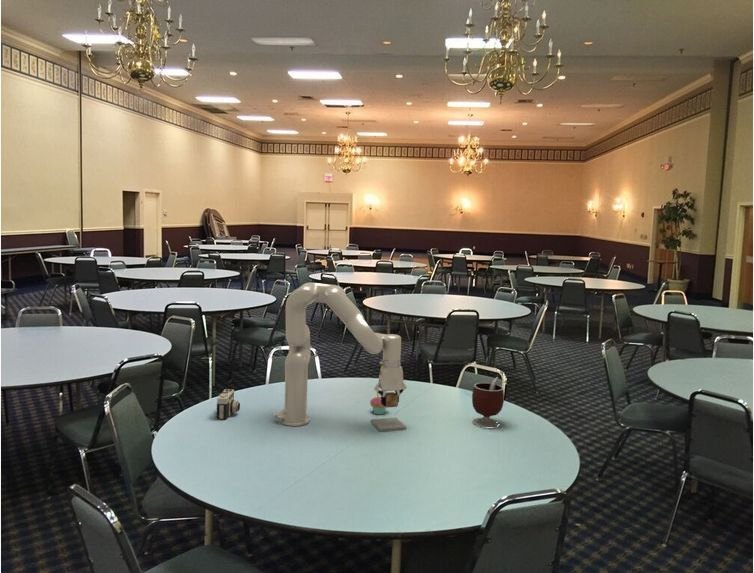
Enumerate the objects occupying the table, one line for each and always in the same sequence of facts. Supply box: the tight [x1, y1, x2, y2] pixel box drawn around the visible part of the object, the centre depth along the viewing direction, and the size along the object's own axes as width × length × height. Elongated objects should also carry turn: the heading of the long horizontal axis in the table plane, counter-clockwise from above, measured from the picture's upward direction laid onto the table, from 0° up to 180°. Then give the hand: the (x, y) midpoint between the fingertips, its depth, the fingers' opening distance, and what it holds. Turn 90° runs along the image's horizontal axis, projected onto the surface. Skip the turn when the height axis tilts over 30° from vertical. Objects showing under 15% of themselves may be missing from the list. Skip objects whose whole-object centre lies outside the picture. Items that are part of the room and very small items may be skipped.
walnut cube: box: [385, 391, 399, 409], centre depth 253 cm, size 5×5×5 cm
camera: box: [216, 388, 241, 421], centre depth 258 cm, size 14×8×10 cm, turn 0°
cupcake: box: [369, 391, 387, 415], centre depth 270 cm, size 9×8×12 cm
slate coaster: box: [370, 417, 407, 433], centre depth 254 cm, size 12×12×1 cm
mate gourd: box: [471, 376, 505, 428], centre depth 262 cm, size 16×14×20 cm
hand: (389, 404), depth 253 cm, fingers closed on walnut cube, 5 cm apart
